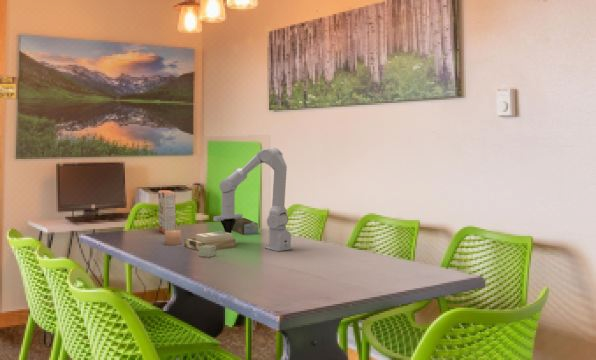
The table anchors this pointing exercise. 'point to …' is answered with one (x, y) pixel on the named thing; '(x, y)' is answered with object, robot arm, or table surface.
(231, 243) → the display bay
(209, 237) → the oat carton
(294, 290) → the table surface
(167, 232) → the block
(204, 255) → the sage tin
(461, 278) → the table surface
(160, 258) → the table surface
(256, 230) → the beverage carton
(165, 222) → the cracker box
